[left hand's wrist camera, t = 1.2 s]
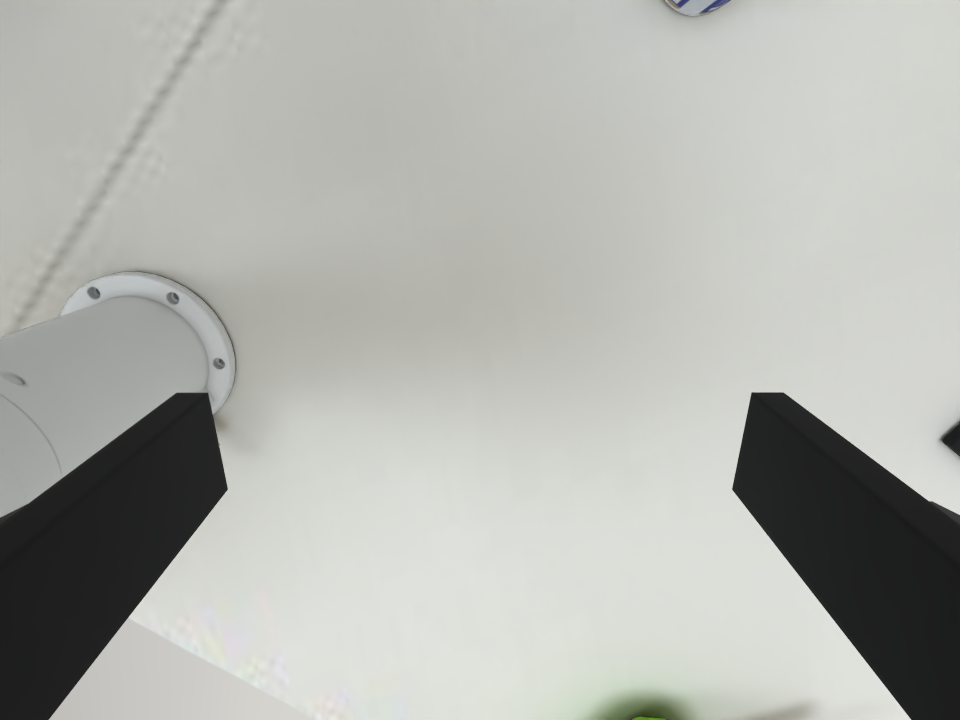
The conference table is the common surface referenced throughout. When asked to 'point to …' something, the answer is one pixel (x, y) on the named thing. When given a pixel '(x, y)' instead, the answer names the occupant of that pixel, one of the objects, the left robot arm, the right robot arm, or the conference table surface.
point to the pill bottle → (696, 6)
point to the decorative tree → (646, 718)
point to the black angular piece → (953, 440)
